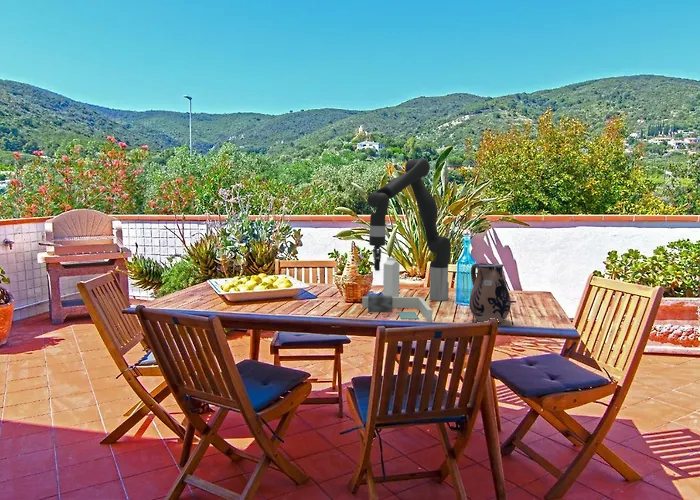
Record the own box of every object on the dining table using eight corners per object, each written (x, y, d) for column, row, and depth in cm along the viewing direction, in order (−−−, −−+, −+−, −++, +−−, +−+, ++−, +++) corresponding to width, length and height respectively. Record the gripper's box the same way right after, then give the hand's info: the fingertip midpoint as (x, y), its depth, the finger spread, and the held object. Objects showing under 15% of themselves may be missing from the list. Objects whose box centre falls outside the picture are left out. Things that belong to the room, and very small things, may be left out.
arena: (421, 306, 269) (421, 296, 268) (431, 321, 239) (432, 309, 238) (362, 306, 268) (362, 296, 268) (365, 321, 238) (365, 309, 238)
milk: (392, 301, 283) (392, 258, 281) (382, 299, 287) (383, 257, 285) (399, 299, 288) (399, 257, 285) (390, 297, 292) (390, 256, 289)
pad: (414, 312, 257) (414, 311, 257) (419, 319, 243) (419, 318, 243) (397, 312, 257) (397, 311, 257) (401, 319, 243) (401, 318, 243)
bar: (391, 310, 262) (391, 295, 261) (392, 312, 257) (392, 297, 256) (368, 310, 262) (368, 295, 261) (368, 312, 257) (368, 297, 256)
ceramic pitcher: (492, 328, 227) (494, 268, 224) (454, 318, 244) (455, 263, 241) (518, 322, 237) (520, 265, 235) (480, 314, 254) (482, 260, 252)
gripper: (386, 236, 251) (385, 271, 253) (384, 234, 266) (383, 267, 267) (370, 236, 251) (369, 271, 253) (368, 234, 266) (368, 267, 267)
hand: (376, 269), depth 260 cm, fingers open, 8 cm apart
